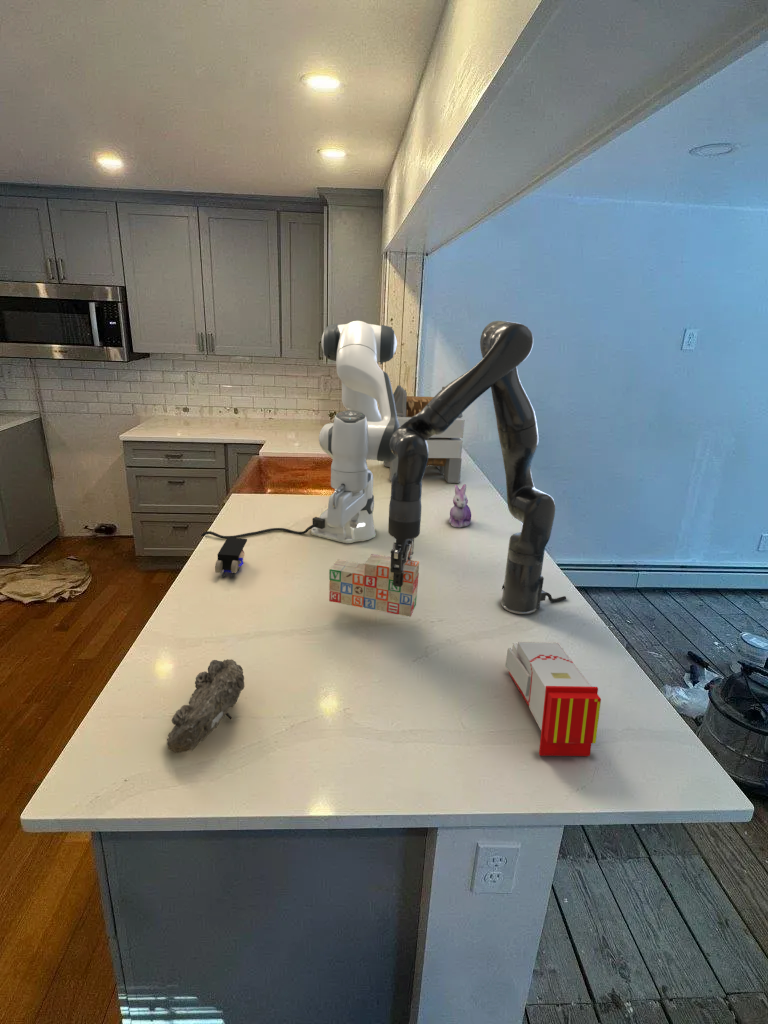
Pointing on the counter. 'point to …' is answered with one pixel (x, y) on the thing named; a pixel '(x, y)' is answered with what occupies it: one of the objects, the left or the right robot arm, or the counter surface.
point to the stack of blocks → (374, 585)
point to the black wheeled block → (230, 556)
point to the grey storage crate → (432, 437)
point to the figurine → (460, 508)
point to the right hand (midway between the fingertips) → (401, 579)
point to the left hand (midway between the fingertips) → (347, 533)
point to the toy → (556, 697)
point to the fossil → (206, 705)
